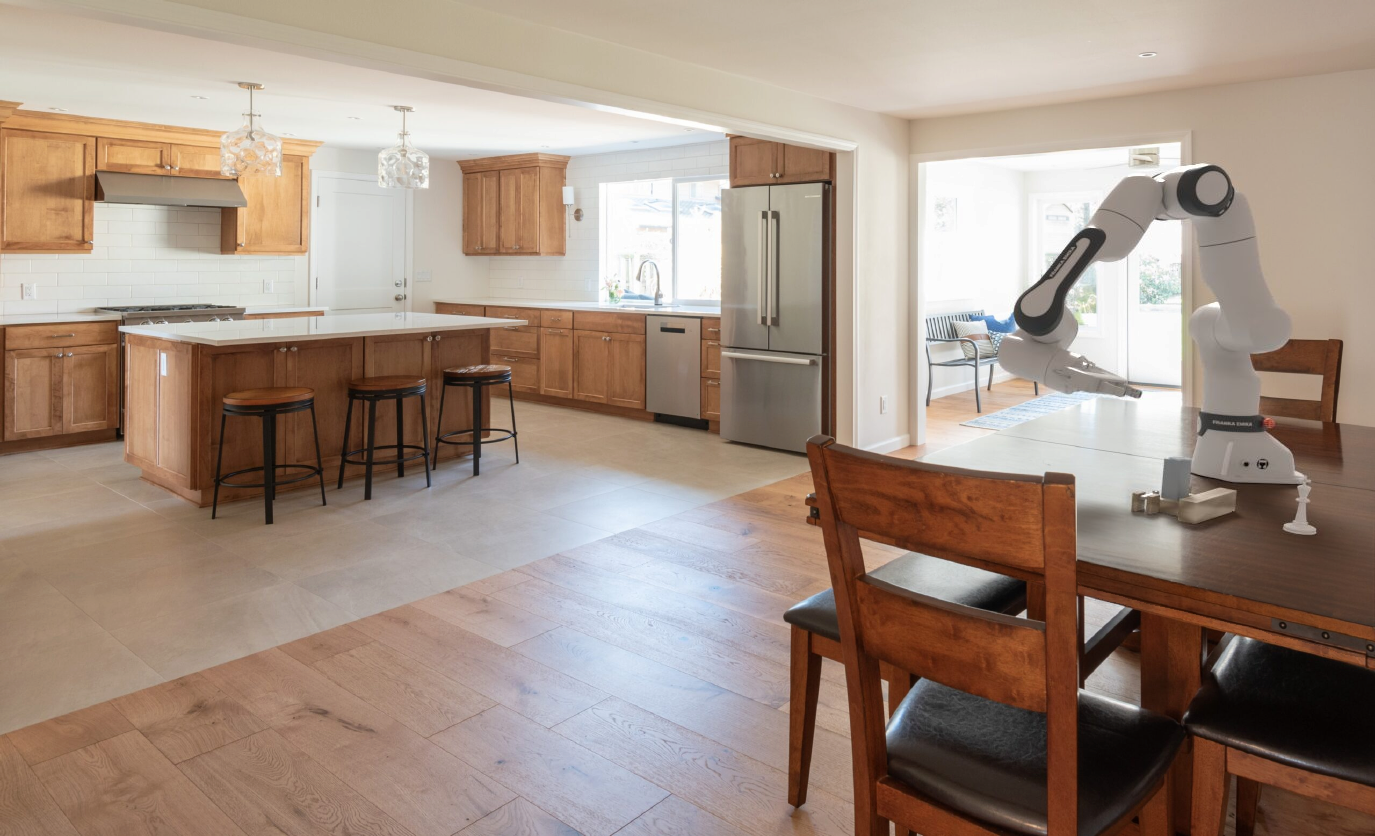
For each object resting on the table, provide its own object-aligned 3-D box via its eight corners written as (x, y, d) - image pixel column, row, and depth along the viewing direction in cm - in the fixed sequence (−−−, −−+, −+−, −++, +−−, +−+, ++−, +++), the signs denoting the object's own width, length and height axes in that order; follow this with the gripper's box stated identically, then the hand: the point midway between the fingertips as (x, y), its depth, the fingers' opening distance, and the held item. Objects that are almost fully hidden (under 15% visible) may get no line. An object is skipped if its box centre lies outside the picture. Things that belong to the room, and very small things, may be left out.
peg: (1159, 508, 171) (1164, 458, 170) (1170, 505, 174) (1174, 455, 172) (1181, 513, 168) (1185, 461, 167) (1191, 509, 170) (1195, 459, 169)
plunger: (1139, 500, 169) (1139, 494, 169) (1153, 496, 172) (1154, 490, 172) (1145, 501, 168) (1145, 495, 168) (1160, 497, 171) (1160, 491, 171)
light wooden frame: (1130, 510, 170) (1131, 490, 169) (1171, 498, 179) (1173, 479, 179) (1194, 524, 161) (1196, 502, 160) (1234, 510, 170) (1236, 490, 169)
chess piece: (1282, 525, 160) (1288, 471, 158) (1316, 529, 157) (1322, 475, 155) (1282, 532, 156) (1288, 476, 154) (1316, 536, 153) (1323, 480, 151)
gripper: (1053, 355, 181) (1120, 377, 172) (1091, 361, 196) (1154, 381, 186) (1043, 384, 183) (1108, 407, 173) (1081, 388, 197) (1143, 409, 188)
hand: (1132, 394), depth 180 cm, fingers open, 8 cm apart
